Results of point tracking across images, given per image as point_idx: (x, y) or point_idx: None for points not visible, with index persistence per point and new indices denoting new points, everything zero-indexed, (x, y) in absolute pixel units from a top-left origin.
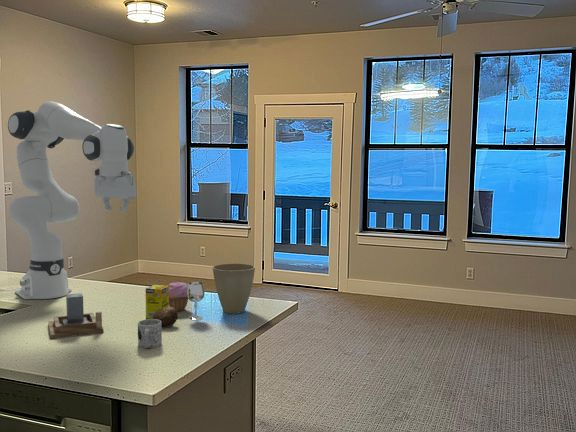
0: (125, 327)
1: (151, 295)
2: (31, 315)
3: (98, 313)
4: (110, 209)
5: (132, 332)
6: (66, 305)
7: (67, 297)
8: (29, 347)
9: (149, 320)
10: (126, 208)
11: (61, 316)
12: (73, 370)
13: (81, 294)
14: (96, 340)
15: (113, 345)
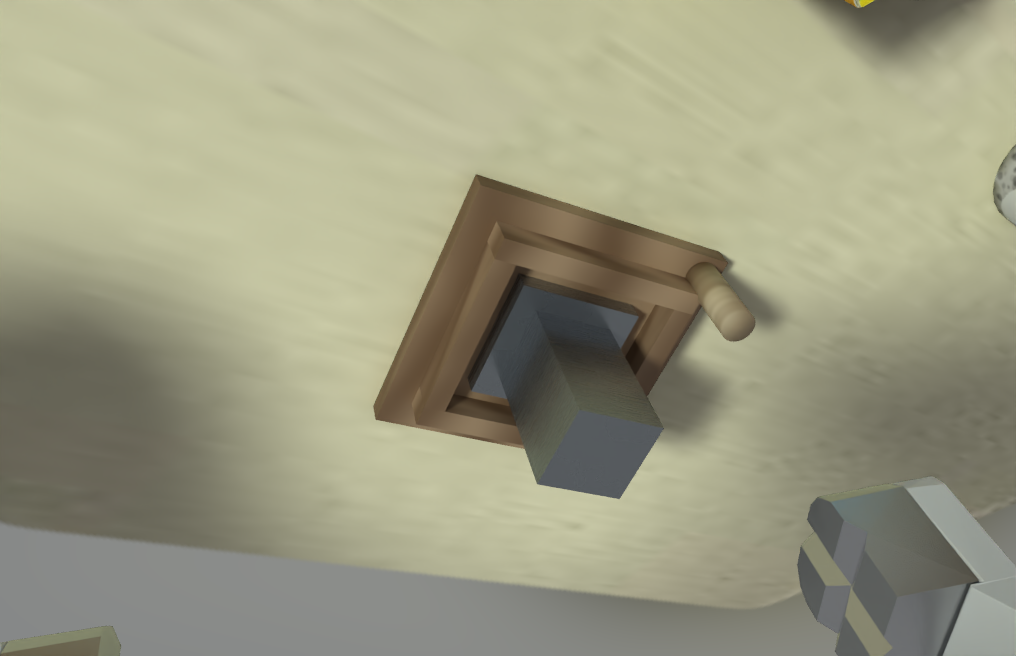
0: (741, 121)
1: None
2: (83, 422)
3: (750, 331)
4: (108, 652)
5: (843, 138)
6: (521, 435)
7: (615, 496)
8: (634, 529)
9: None
10: (982, 550)
11: (443, 394)
12: (964, 479)
13: (612, 421)
14: (786, 320)
15: (904, 293)
